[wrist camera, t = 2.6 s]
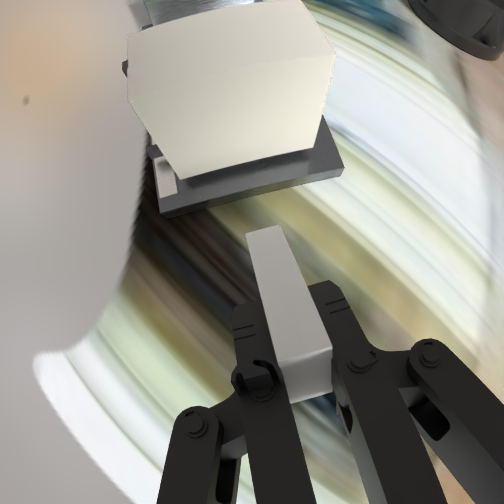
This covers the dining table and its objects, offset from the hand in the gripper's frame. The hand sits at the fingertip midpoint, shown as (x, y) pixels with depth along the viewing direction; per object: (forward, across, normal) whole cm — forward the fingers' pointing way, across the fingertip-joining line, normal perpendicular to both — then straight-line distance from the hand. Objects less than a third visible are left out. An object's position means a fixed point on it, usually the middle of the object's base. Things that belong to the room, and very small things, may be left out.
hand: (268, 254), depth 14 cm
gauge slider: (+10, 0, +3) cm, 10 cm away
